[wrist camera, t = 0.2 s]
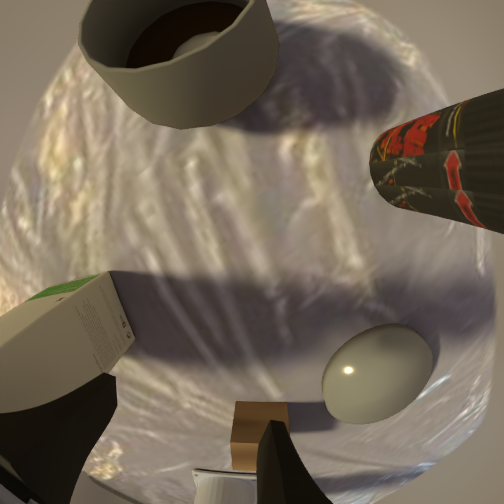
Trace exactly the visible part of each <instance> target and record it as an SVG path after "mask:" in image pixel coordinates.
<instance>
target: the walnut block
mask: <svg viewBox="0 0 504 504" xmlns="http://www.w3.org/2000/svg"><path fill="white" fill-rule="evenodd" d="M270 420H276V421H283V422H284V423H285V425H286V428H287V431H288V433H289V436H290V431H289V418H288V406H287V402H244V401H236V404H235V412H234V419H233V426H232V433H231V440H230V445H231V456H232V467H233V470H245V471H256V461H257V452H258V444H259V442H260V440H261V438H262V436H263V434H264V432H265V430H266V428H267V425H268V423H269V421H270Z"/></svg>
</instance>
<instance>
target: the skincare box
mask: <svg viewBox="0 0 504 504" xmlns="http://www.w3.org/2000/svg"><path fill="white" fill-rule="evenodd" d="M134 340H135V337H134V334H133V332H132V330H131V327H130V325H129V322H128V320H127V317H126V315H125V313H124V310H123V308H122V305H121V302H120V300H119V297H118V295H117V292H116V289H115V287H114V284H113V281H112V279H111V276H110V273H109V272H103V273H99V274H96V275H91V276H87V277H83V278H79V279H76V280H72V281H69V282H65V283H61V284H57V285H53V286H50V287H48V288H46V289H44V290H43V291H41V292H39V293H38V294H36V295H34V296H33V297H31V298H29V299H28V300H26V301H25V302H23V303H21V304H20V305H18V306H17V307H15V308H13V309H12V310H10V311H9V312H7V313H6V314H4V315H2V316H1V317H0V413H8V412H15V411H21V410H25V409H29V408H33V407H37V406H40V405H43V404H45V403H48V402H51V401H53V400H55V399H57V398H59V397H62V396H64V395H66V394H68V393H70V392H71V391H73V390H75V389H77V388H79V387H80V386H82V385H84V384H85V383H87V382H89V381H90V380H92V379H94V378H95V377H97V376H98V375H100V374H102V373H104V372H105V373H108V374H109V372H110V371H111V370H112V368H113V367H114V366H115V364H116V363H117V362H118V360H119V359H120V358H121V357H122V355H123V354H124V353H125V352H126V350H127V349H128V348H129V347H130V345H131V344H132V343H133V342H134Z"/></svg>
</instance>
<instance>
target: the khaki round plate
mask: <svg viewBox="0 0 504 504" xmlns="http://www.w3.org/2000/svg"><path fill="white" fill-rule="evenodd" d="M432 367H433V355H432V352H431V349H430V347H429V345H428V344H427V343H426V342H425V341H424V340H423V339H422V337H421V336H420V335H419V334H418V333H417V332H416V331H414V330H413V329H412V328H410V327H408V326H404V325H399V324H386V325H380V326H376V327H373V328H370V329H368V330H365V331H363V332H361V333H359V334H358V335H356V336H354V337H353V338H351V339H350V340H349V341H347V342H346V343H345V344H344V345H343V346H341V347H340V348H339V349H338V350H337V352H336V353H335V354H334V355H333V356H332V358H331V359H330V361H329V362H328V364H327V366H326V368H325V370H324V373H323V377H322V391H323V395H324V399H325V403H326V407H327V409H328V411H329V412H330V413H331V415H332V416H334V417H335V418H336V419H338V420H340V421H342V422H345V423H349V424H370V423H375V422H378V421H381V420H384V419H387V418H389V417H391V416H393V415H395V414H396V413H398V412H400V411H401V410H403V409H404V408H406V407H407V406H408V405H409V404H410V403H411V402H413V401H414V400H415V399H416V397H417V396H418V395H419V394H420V393H421V391H422V390H423V389H424V387H425V385H426V384H427V382H428V380H429V378H430V375H431V372H432Z"/></svg>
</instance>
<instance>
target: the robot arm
mask: <svg viewBox="0 0 504 504" xmlns="http://www.w3.org/2000/svg"><path fill="white" fill-rule="evenodd" d="M116 407H117V392H116V377H115V376H112V375H110V374H108V373H105V372H104V373H102V374H100V375H98V376H97V377H95V378H94V379H92V380H90V381H89V382H87V383H85V384H84V385H82V386H80V387H79V388H77V389H75V390H73V391H71V392H70V393H68V394H66V395H64V396H62V397H59V398H57V399H55V400H53V401H51V402H48V403H45V404H43V405H40V406H37V407H33V408H29V409H25V410H21V411H15V412H8V413H0V504H69V503H70V500H71V496H72V494H73V491H74V488H75V485H76V482H77V479H78V477H79V475H80V473H81V470H82V468H83V466H84V464H85V461H86V459H87V457H88V455H89V454H90V452H91V450H92V449H93V447H94V446H95V444H96V443H97V441H98V439H99V438H100V436H101V435H102V433H103V432H104V430H105V429H106V427H107V425H108V424H109V422H110V420H111V418H112V416H113V414H114V412H115V410H116ZM256 473H257V475H252V474H232V473H220V472H210V471H202V470H192V475H193V478H194V481H195V484H196V487H197V492H196V497H195V502H194V504H333V503H332V502H331V501H330V500H329V499H328V498H327V497H326V496H325V494H324V493H323V492H322V491H321V490H320V488H319V487H318V486H317V484H316V483H315V482H314V480H313V479H312V477H311V476H310V474H309V473H308V471H307V469H306V468H305V466H304V464H303V463H302V461H301V459H300V457H299V455H298V453H297V451H296V449H295V447H294V445H293V443H292V440H291V438H290V436H289V433H288V431H287V428H286V425H285V423H284V422H283V421H276V420H270V421H269V423H268V425H267V428H266V430H265V432H264V434H263V436H262V438H261V440H260V442H259V444H258V452H257V461H256Z"/></svg>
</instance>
